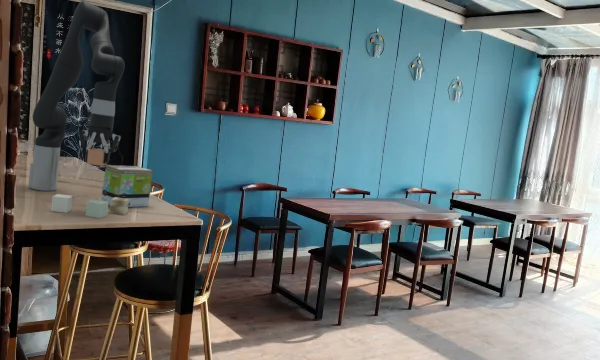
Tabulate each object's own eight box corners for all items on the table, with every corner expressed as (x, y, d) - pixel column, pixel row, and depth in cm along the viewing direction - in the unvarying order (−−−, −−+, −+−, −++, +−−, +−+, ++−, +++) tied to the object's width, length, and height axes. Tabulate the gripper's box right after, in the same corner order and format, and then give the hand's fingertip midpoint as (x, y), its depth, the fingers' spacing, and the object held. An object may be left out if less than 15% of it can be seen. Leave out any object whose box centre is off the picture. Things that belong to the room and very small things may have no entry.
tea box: (117, 208, 191) (122, 169, 189) (100, 203, 196) (104, 164, 194) (149, 206, 204) (153, 169, 202) (132, 201, 209) (136, 165, 207)
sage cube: (85, 215, 173) (86, 201, 172) (93, 213, 178) (95, 199, 177) (99, 218, 172) (100, 203, 172) (106, 216, 177) (108, 202, 176)
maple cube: (109, 213, 182) (111, 199, 182) (113, 210, 187) (115, 197, 187) (123, 215, 183) (125, 201, 182) (127, 212, 188) (129, 199, 187)
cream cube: (51, 211, 172) (52, 196, 171) (55, 208, 177) (57, 194, 176) (66, 213, 173) (68, 198, 172) (71, 210, 178) (72, 195, 177)
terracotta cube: (86, 163, 177) (88, 149, 176) (92, 162, 182) (94, 148, 181) (101, 165, 177) (102, 151, 176) (106, 164, 182) (108, 150, 181)
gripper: (77, 109, 173) (71, 159, 175) (119, 116, 173) (113, 166, 175) (86, 110, 181) (81, 158, 183) (127, 116, 181) (121, 164, 183)
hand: (97, 162), depth 179 cm, fingers closed on terracotta cube, 5 cm apart
